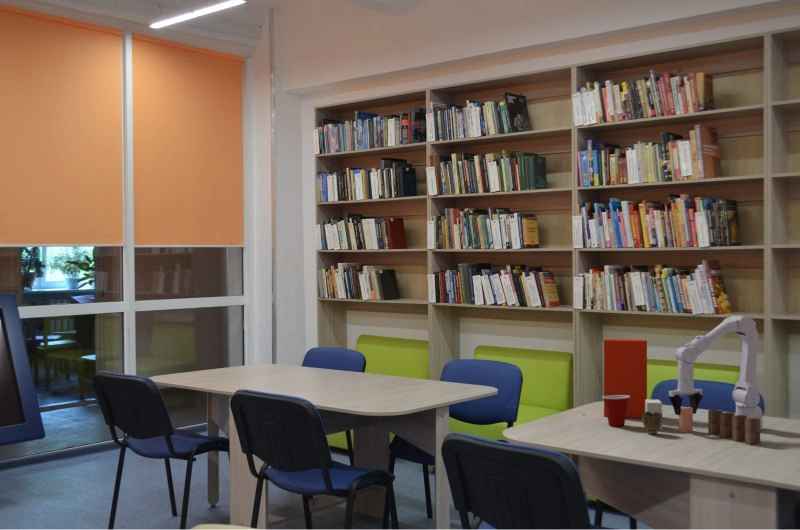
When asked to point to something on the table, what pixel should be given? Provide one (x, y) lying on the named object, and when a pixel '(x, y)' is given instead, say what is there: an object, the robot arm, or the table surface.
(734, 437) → the domino
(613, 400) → the plastic cup
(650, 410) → the small box
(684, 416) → the domino
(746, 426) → the domino
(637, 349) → the tall red box
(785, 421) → the table surface
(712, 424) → the domino
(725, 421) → the domino
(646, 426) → the cup
